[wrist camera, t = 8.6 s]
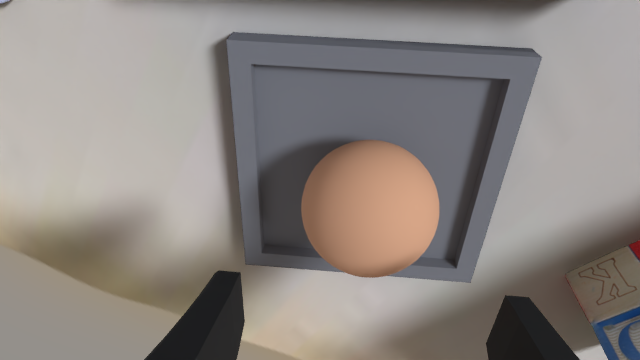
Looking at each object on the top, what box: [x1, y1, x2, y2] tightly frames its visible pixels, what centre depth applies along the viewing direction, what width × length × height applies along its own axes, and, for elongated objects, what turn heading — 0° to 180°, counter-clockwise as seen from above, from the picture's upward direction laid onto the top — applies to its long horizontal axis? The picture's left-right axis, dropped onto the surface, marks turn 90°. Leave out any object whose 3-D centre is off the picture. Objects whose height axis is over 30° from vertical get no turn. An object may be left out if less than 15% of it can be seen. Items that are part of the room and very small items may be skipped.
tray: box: [226, 32, 542, 283], centre depth 18 cm, size 11×11×1 cm
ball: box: [301, 140, 439, 277], centre depth 16 cm, size 5×5×5 cm
